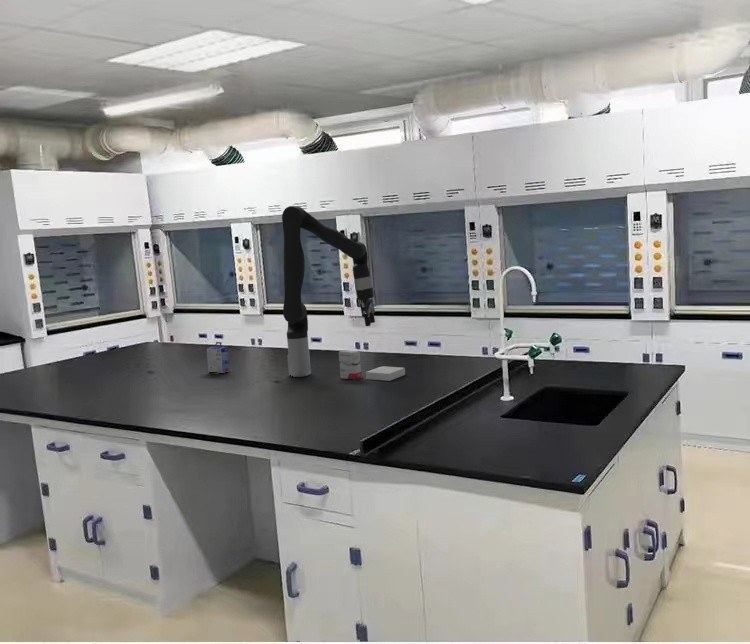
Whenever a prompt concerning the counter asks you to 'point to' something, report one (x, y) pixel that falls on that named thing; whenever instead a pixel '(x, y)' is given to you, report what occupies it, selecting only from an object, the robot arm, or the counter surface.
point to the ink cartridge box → (218, 358)
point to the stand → (385, 373)
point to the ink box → (350, 364)
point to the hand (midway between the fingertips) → (370, 324)
